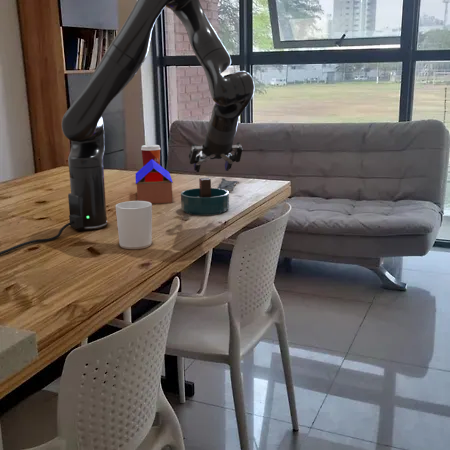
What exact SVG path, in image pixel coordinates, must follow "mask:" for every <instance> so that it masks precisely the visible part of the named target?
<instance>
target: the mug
mask: <svg viewBox="0 0 450 450" xmlns="http://www.w3.org/2000/svg"><path fill="white" fill-rule="evenodd" d="M115 214H116V225H117V232H118V243H119V247H121V248H122V249H125V250H142V249H146V248H149V247H151V245H152V244H153V240H152V239H153V203H150V202H146V201H138V200H128V201H122V202H119V203H116V204H115Z"/></svg>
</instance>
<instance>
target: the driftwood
mask: <svg viewBox="0 0 450 450" xmlns="http://www.w3.org/2000/svg"><path fill="white" fill-rule="evenodd" d="M237 183H239V181H238V180H227V179H225V178H224V177H223V178H221V181H220V183H218V186H217V189H223V190H227V191H234V187H235V186H236V185H235V184H237Z"/></svg>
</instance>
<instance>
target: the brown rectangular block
mask: <svg viewBox="0 0 450 450" xmlns="http://www.w3.org/2000/svg"><path fill="white" fill-rule="evenodd" d="M198 183H199V187H198V188H200V197H211V188H212V180H211V178H210V177H200V178H199V179H198Z"/></svg>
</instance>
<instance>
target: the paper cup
mask: <svg viewBox="0 0 450 450" xmlns="http://www.w3.org/2000/svg"><path fill="white" fill-rule="evenodd" d="M161 149H162V148H161V146H160V145H159V144H144V145H141V148H140V150H141V159H142V167H143V166H145V165H146V164H147V163H148V162H149V161H150V160H151V159H153V160H154V161H155V162H156V163H158V164H159V165H160V166H161V163H160V162H161Z"/></svg>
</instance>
